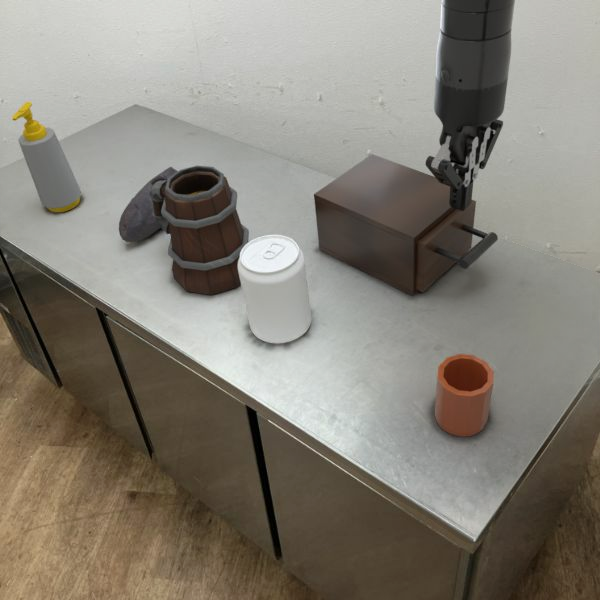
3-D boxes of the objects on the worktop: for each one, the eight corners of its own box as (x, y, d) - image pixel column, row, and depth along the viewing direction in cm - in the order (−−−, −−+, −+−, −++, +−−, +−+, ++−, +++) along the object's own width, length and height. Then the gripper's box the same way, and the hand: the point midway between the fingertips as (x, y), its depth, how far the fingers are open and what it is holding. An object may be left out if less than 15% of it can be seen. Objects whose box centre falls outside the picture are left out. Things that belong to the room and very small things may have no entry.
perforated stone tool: (137, 255, 99) (125, 218, 94) (113, 246, 101) (99, 209, 97) (199, 204, 108) (190, 167, 103) (175, 196, 110) (165, 161, 105)
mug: (270, 256, 95) (255, 168, 85) (218, 306, 89) (195, 216, 78) (192, 227, 103) (170, 143, 93) (138, 271, 96) (108, 185, 86)
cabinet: (465, 248, 93) (471, 190, 86) (412, 296, 86) (414, 237, 80) (373, 208, 102) (371, 153, 95) (319, 249, 96) (313, 194, 89)
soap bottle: (37, 215, 110) (-8, 118, 98) (54, 191, 115) (14, 96, 103) (74, 215, 109) (34, 117, 97) (90, 192, 114) (54, 95, 102)
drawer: (502, 261, 88) (509, 213, 83) (454, 307, 83) (459, 260, 77) (383, 210, 100) (382, 166, 94) (333, 248, 94) (330, 203, 89)
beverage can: (238, 334, 84) (222, 263, 76) (272, 296, 89) (260, 225, 81) (290, 354, 81) (279, 282, 73) (323, 314, 85) (315, 242, 77)
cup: (496, 412, 71) (504, 370, 67) (468, 445, 69) (474, 404, 64) (453, 387, 74) (457, 346, 70) (424, 418, 72) (427, 377, 67)
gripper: (468, 104, 63) (456, 244, 75) (535, 55, 70) (515, 191, 81) (405, 86, 67) (403, 221, 79) (474, 42, 74) (463, 173, 86)
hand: (460, 206), depth 80 cm, fingers closed
